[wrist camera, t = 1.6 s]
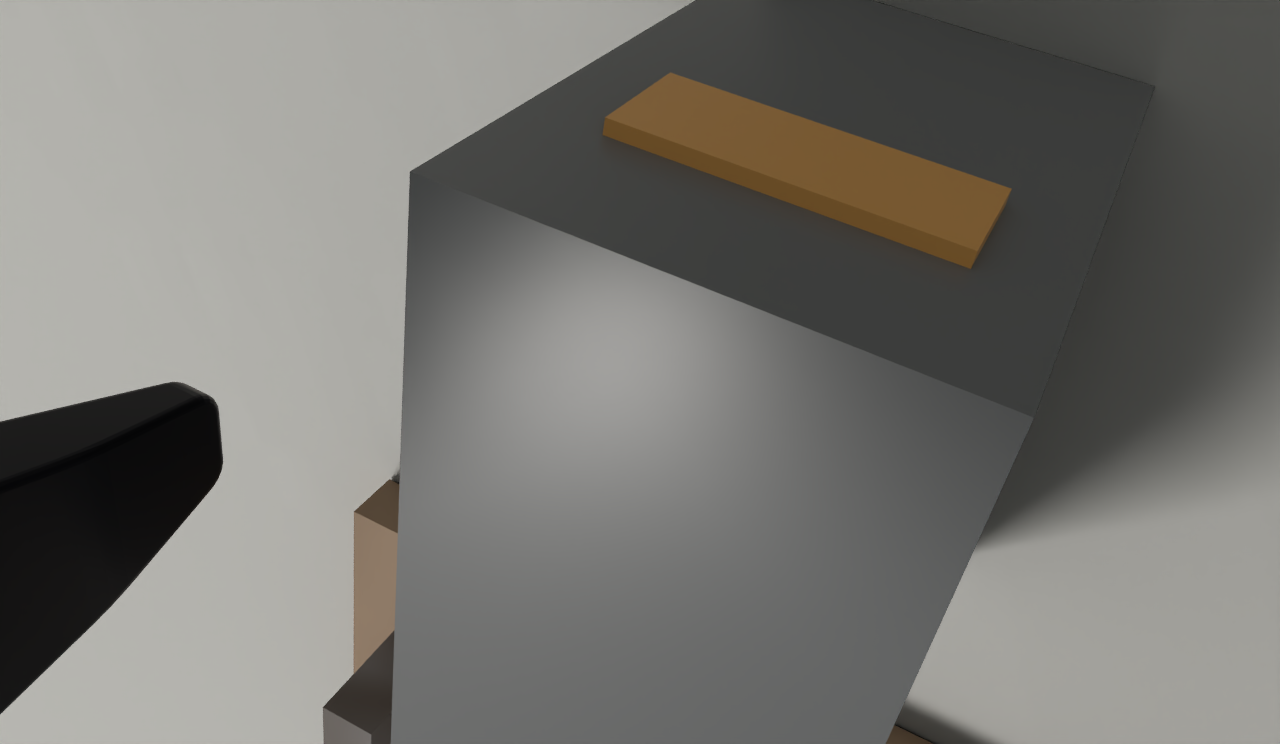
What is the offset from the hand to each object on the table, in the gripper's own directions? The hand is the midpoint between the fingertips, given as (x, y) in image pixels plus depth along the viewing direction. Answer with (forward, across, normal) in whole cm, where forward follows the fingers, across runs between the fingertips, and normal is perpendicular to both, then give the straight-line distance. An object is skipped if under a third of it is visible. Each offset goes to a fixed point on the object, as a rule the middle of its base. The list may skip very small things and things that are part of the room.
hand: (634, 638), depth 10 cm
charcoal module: (+6, 0, 0) cm, 7 cm away
